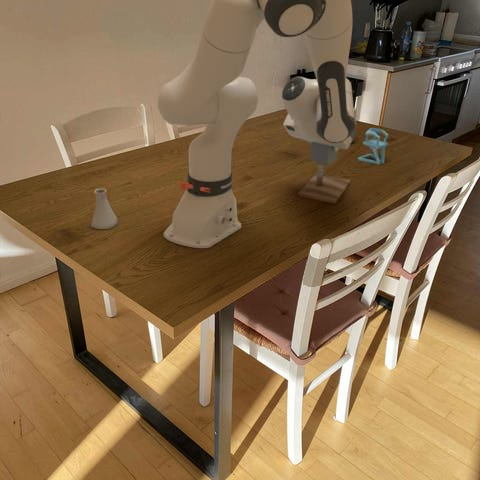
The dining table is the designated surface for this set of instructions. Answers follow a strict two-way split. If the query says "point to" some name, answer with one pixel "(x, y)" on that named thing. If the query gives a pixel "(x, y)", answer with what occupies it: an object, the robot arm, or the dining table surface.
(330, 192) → the post board
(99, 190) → the flask
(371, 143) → the chair
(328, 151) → the square hollow box
